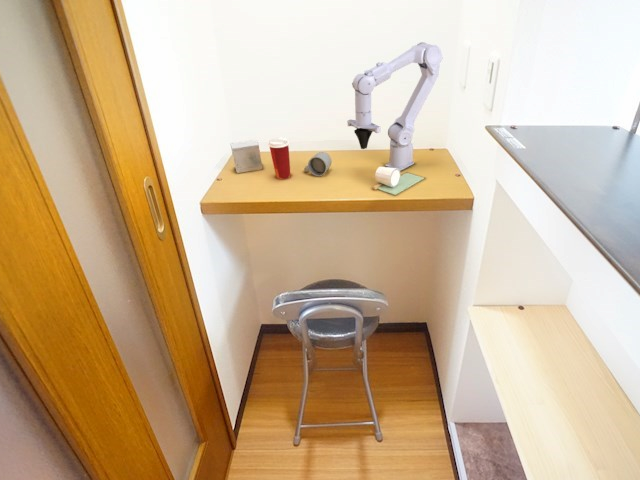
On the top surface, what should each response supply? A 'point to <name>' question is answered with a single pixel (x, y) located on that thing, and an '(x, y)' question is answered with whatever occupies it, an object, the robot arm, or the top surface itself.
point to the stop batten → (378, 186)
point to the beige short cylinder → (388, 176)
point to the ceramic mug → (319, 164)
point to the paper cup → (280, 157)
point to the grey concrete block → (246, 156)
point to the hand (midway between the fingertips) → (363, 148)
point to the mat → (402, 184)
